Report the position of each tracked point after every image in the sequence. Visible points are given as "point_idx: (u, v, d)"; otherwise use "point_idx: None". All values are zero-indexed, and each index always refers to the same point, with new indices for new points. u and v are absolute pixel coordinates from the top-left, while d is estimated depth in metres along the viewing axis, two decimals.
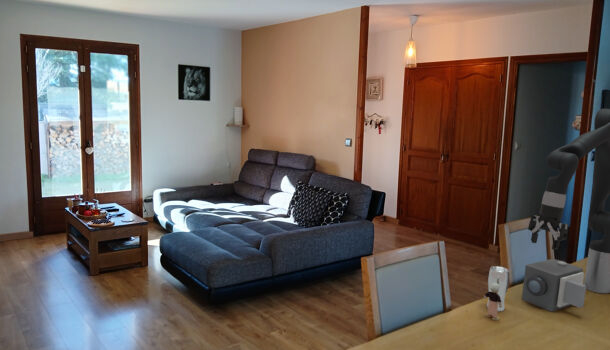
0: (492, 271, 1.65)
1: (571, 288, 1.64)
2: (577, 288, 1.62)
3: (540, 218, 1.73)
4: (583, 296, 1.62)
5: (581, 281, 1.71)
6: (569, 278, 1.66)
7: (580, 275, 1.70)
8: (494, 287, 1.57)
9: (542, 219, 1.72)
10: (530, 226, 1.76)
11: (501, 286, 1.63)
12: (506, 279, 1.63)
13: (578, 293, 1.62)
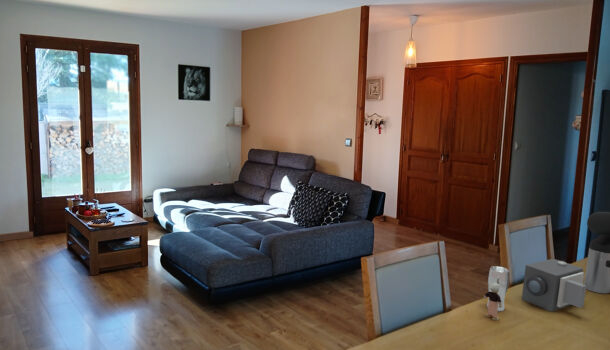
0: (492, 271, 1.65)
1: (571, 288, 1.64)
2: (577, 288, 1.62)
3: None
4: (583, 296, 1.62)
5: (581, 281, 1.71)
6: (569, 278, 1.66)
7: (580, 275, 1.70)
8: (494, 287, 1.57)
9: None
10: None
11: (501, 286, 1.63)
12: (506, 279, 1.63)
13: (578, 293, 1.62)
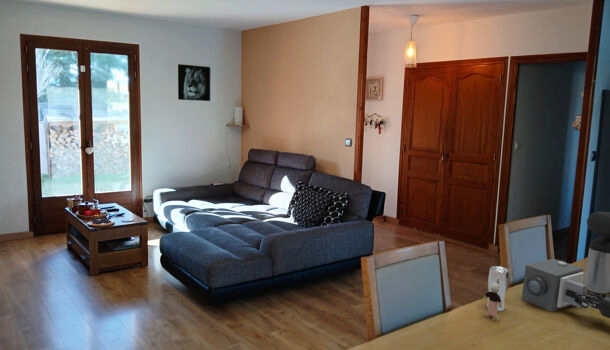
0: (492, 271, 1.65)
1: (571, 288, 1.64)
2: (577, 288, 1.62)
3: None
4: None
5: (581, 281, 1.71)
6: (569, 278, 1.66)
7: (580, 275, 1.70)
8: (494, 287, 1.57)
9: None
10: None
11: (501, 286, 1.63)
12: (506, 279, 1.63)
13: None
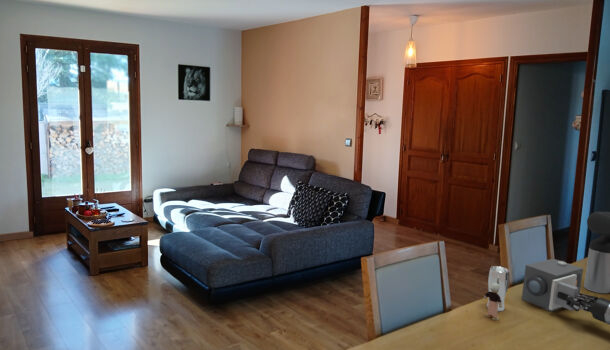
0: (492, 271, 1.65)
1: (563, 290, 1.61)
2: (569, 291, 1.59)
3: None
4: None
5: (574, 283, 1.69)
6: (561, 280, 1.64)
7: (573, 277, 1.68)
8: (494, 287, 1.57)
9: None
10: None
11: (501, 286, 1.63)
12: (506, 279, 1.63)
13: (570, 295, 1.59)
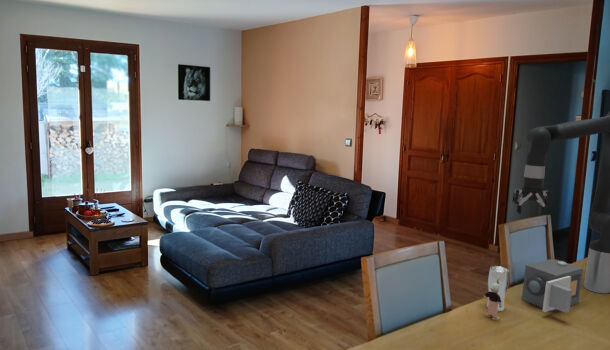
0: (492, 271, 1.65)
1: (557, 292, 1.59)
2: (563, 293, 1.57)
3: (525, 191, 1.87)
4: (569, 300, 1.57)
5: (568, 285, 1.67)
6: (555, 282, 1.62)
7: (567, 279, 1.66)
8: (494, 287, 1.57)
9: (528, 191, 1.87)
10: (516, 200, 1.88)
11: (501, 286, 1.63)
12: (506, 279, 1.63)
13: (564, 297, 1.57)
